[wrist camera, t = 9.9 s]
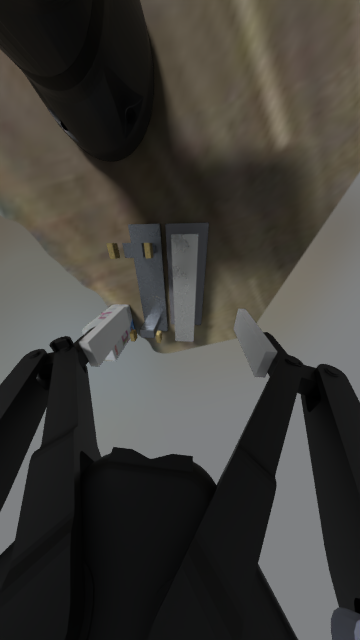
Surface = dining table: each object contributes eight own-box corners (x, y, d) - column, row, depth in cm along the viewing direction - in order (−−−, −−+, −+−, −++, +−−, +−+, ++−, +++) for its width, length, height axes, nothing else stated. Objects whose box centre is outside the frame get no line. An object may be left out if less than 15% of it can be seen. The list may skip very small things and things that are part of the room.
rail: (176, 236, 26) (171, 234, 20) (197, 235, 25) (198, 233, 19) (178, 324, 36) (175, 340, 30) (193, 324, 35) (193, 341, 29)
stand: (129, 225, 26) (99, 217, 18) (161, 224, 25) (146, 215, 17) (146, 328, 38) (134, 351, 30) (168, 328, 37) (161, 353, 29)
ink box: (136, 331, 39) (116, 362, 29) (120, 330, 39) (94, 361, 29) (130, 304, 35) (103, 330, 24) (111, 303, 35) (78, 329, 25)
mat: (165, 224, 25) (165, 223, 25) (208, 222, 25) (208, 222, 24) (171, 323, 36) (171, 323, 36) (200, 324, 36) (201, 324, 35)
